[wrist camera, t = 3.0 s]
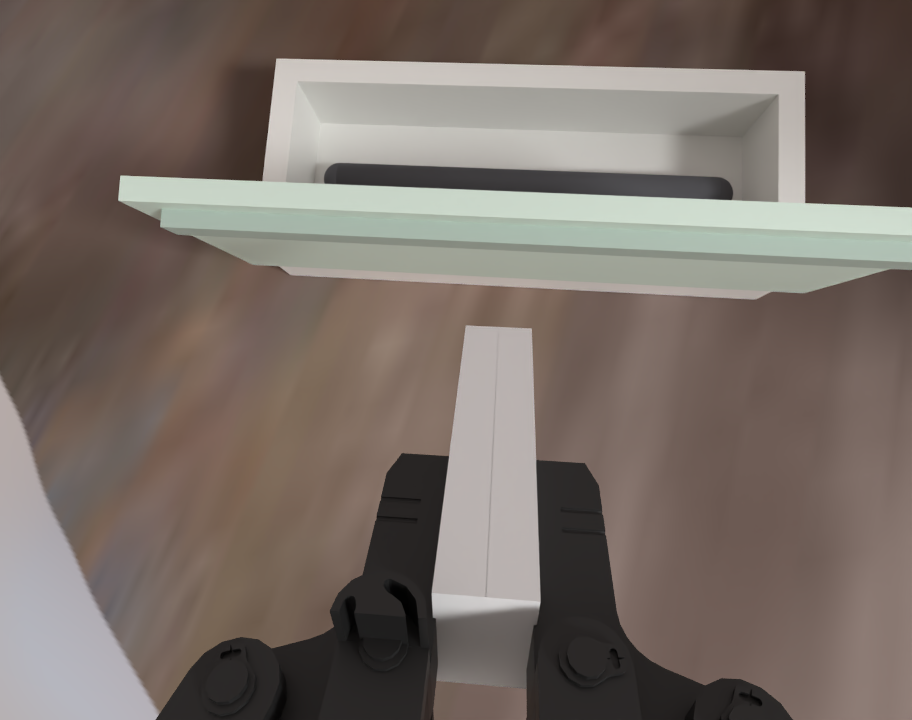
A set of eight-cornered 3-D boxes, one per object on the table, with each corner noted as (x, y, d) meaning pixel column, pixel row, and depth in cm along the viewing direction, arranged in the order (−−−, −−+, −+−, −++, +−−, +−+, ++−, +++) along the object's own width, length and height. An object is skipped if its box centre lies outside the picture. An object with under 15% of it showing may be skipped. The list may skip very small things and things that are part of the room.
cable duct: (756, 126, 32) (804, 71, 27) (755, 299, 31) (805, 274, 26) (308, 112, 34) (276, 58, 29) (290, 275, 33) (254, 247, 28)
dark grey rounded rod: (725, 186, 31) (739, 171, 29) (724, 218, 31) (738, 205, 29) (330, 171, 32) (321, 156, 31) (327, 201, 32) (318, 188, 30)
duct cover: (997, 210, 16) (995, 259, 16) (805, 275, 26) (803, 306, 26) (120, 175, 18) (116, 219, 18) (254, 248, 28) (252, 276, 28)
